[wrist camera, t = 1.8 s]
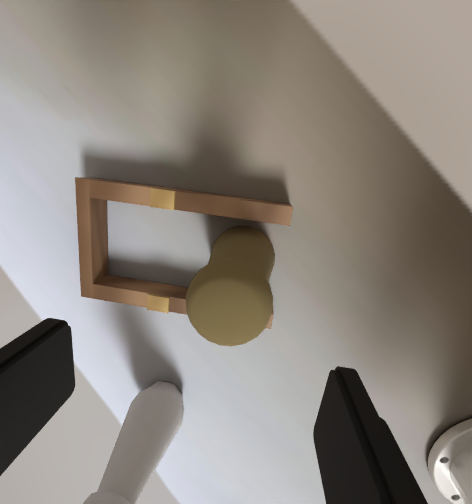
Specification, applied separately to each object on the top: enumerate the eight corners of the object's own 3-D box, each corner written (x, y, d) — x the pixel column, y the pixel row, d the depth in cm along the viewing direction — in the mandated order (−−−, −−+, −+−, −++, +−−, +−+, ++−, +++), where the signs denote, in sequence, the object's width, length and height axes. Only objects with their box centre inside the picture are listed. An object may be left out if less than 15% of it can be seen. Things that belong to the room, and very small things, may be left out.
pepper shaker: (277, 284, 25) (286, 361, 14) (216, 289, 25) (181, 366, 15) (271, 222, 23) (276, 256, 12) (206, 229, 24) (160, 268, 13)
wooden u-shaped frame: (290, 204, 22) (293, 207, 20) (270, 314, 25) (270, 330, 23) (94, 177, 24) (72, 177, 21) (97, 286, 27) (79, 297, 24)
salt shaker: (142, 369, 29) (50, 510, 17) (191, 379, 29) (134, 531, 16) (140, 409, 31) (55, 564, 18) (186, 419, 30) (131, 585, 18)
